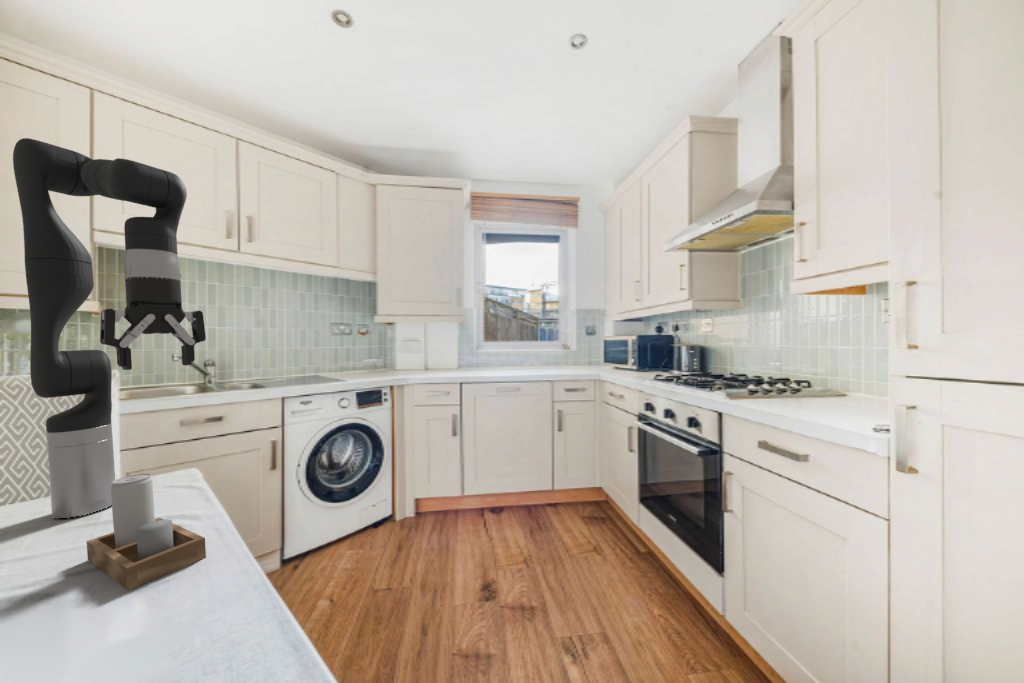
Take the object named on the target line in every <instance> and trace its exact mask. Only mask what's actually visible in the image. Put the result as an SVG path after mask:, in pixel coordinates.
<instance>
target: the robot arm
mask: <svg viewBox="0 0 1024 683" xmlns="http://www.w3.org/2000/svg"><path fill="white" fill-rule="evenodd" d="M12 165H13V172H14V174H13V175H14V178H15V179H14V180H15V183H16V184H15V185H16V189H17V195H18V199H19V204H20V212H21V218H22V228H23V246H24V247H23V248H24V250H23V251H24V270H25V279H26V280H25V281H26V289H27V296H28V302H29V303H28V304H29V314H30V358H29V359H30V361H29V363H30V367H29V369H30V381H31V382H30V384H31V387H32V389H33V392H34V393H35V394H36V395H37V396H38V397H40V398H44V399H48V398H59V397H60V398H61V397H69V396H78V395H84V396H83V399H82V400H81V401H80V402H79V403H78V404H76V405H75V406H72V407H70V408H68V409H65V410H64V411H61V412H58V413H56V414H53V415H51V416H50V417H48V418H47V419H46V422H45V430H46V444H47V456H48V471H49V472H48V473H49V486H50V504H51V515H52V516H51V518H52V517H54V518H67V519H71V518H70V517H74V518H77V517H76V516H79V517H82V515H83V516H87V514H88V515H91V514H94V513H93V512H95V513H97V512H96V511H98V512H100V511H99V510H101V509H104V508H106V507H109V506H111V505H112V498H111V486H112V485H113V484H112V482H113V481H114V480H116V469H115V457H114V456H115V454H114V441H113V440H114V439H113V438H114V437H113V425H112V424H113V423H112V410H113V405H112V401H113V400H112V378H113V377H112V376H113V375H112V364H111V360H110V358H109V355H108V354H107V352H105V351H103V350H101V349H82V350H81V349H78V350H77V349H75V350H59V342H60V338H61V335H62V332H63V330H64V328H65V326H66V325H67V323H68V321H69V320H70V319H71V318H72V317H73V315H74V314H76V312H77V310H79V309H80V307H82V305H83V304H84V303H85V301H86V300H87V299H88V298H89V297H90V295H91V293H92V292H93V289H94V270H93V260H92V256H91V255H90V252H89V251H88V250H87V248H86V247H85V245H84V244H83V243H82V242H81V240H80V239H79V238H78V237H77V236H76V235H75V234H74V232H73V231H72V230H71V229H70V228H69V227H68V226H67V224H66V223H65V222H64V220H62V218H61V217H60V215H59V214H58V212H57V210H56V209H55V207H54V204H53V201H52V199H51V196H50V193H49V192H54V193H58V194H63V195H66V196H72V197H91V196H92V197H93V196H101V197H104V198H109V199H113V200H117V201H123V202H129V203H133V204H138V205H141V206H146V207H150V208H155V213H154V215H153V216H133V217H129V218H127V219H126V220H125V222H124V227H123V228H124V229H123V230H124V245H125V247H124V248H125V255H124V261H123V262H124V263H123V265H124V266H123V268H124V281H125V303H126V304H125V305H126V306H125V309H124V310H119V309H113V308H105V309H102V310H101V312H100V329H99V330H100V332H99V333H100V334H99V335H100V336H99V342H100V344H101V345H107V346H109V347H114V348H115V350H116V363H117V364H116V365H117V366H118V367H120V368H122V370H123V371H129V370H130V371H131V370H132V368H133V366H132V361H133V360H132V348H131V347H129V346H130V345H131V344H132V343H133V342H134V340H136V339H137V338H138V337H139V336H140V335H141V334H142V335H154V334H159V335H164V334H165V335H167V334H168V335H169V334H171V335H172V336H173V337H175V338H176V339H177V340H178V341H179V342H180V344H182V345H181V346H180V348H181V364H182V366H191V365H192V363H194V362H195V359H196V358H195V345H197V344H199V343H200V342H201V343H202V342H205V341H206V339H207V337H206V336H207V335H206V330H205V328H206V327H205V321H204V320H205V319H204V314H203V312H202V310H193V311H184V309H183V306H182V304H183V302H182V301H183V300H182V286H181V285H182V284H181V283H182V281H181V279H182V274H181V266H180V261H179V257H178V241H177V240H178V239H177V234H178V228H179V224H180V221H181V220H180V219H181V216H182V212H183V210H184V207H185V204H186V200H187V198H188V197H187V195H188V194H187V187H186V185H185V183H184V181H183V180H182V178H180V176H178V174H175V173H173V172H171V171H167V170H164V169H162V168H158V167H155V166H151V165H148V164H146V163H142V162H138V161H134V160H131V159H126V158H115V159H114V160H112V159H107V158H106V159H105V158H104V159H103V158H97V159H96V158H95V159H92V158H91V157H90V156H89V157H88V156H87V155H84V154H83V153H80V152H78V151H75V150H73V149H68V148H65V147H62V146H58V145H55V144H51V143H48V142H44V141H41V140H37V139H33V138H27V137H24V138H20V139H19V140H17V142H16V143H15V144H14V147H13V153H12ZM122 317H123V318H124V319H125V320H126V321H127V322H128V323H129V324H130V326H129V327H128V328H127V329H126V330H125V331H124V332H123V334H122V335H121V336H120V337H119V338H116V323H118V322H120V320H121V318H122ZM184 319H186V320H187V322H189V323H190V324H191V325H190V326H191V333H192V336H191V335H190V334H189V333H188V331H187V329H185V328H184V327H183V326H182V324H181V322H182V321H183V320H184ZM111 507H112V506H111ZM109 508H110V507H109ZM106 509H107V508H106ZM104 510H105V509H104ZM101 511H102V510H101ZM90 513H91V514H90Z"/></svg>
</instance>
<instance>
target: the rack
mask: <svg viewBox="0 0 1024 683" xmlns="http://www.w3.org/2000/svg"><path fill="white" fill-rule="evenodd" d="M159 520H165V519H164V518H162V517H156V518H155V521H159ZM172 529H173V545H174V547H173V548H171V549H168V550H166V551H163V552H160V553H158V554H155V555H153V556H150V557H147V558H145V559H142V560H140V561H138V549H137V541H136V542H134V543H131V544H128V545H125V546H122V547H120V548H117V549H115V536H114V531H112V532H111V533H107V534H104V535H101V536H98V537H96V538H91V539H89V540H87V541H86V554H87V555H86V556H87V561H88V562H90V563H91V564H92V565H93V566H95V567H96V568H98V569H99V570H100V571H101V572H102V573H104V574H106V575H107V576H109V577H110V578H111V579H113V580H114V581H115V582H116V583H118V584H119V585H120V586H122V587H123V588H124V589H126V590H127V591H130V590H133V589H135V588H138V587H140V586H142V585H145V584H147V583H149V582H151V581H153V580H156V579H158V578H160V577H164V576H166V575H167V574H170V573H172V572H175V571H177V570H179V569H182V568H184V567H187V566H188V565H190V564H193V563H196V562H199V561H200V560H203V559H205V558H207V552H206V550H207V548H206V538H205V537H204V536H201V535H199V534H198V533H195V532H193V531H190V530H188V529H186V528H184V527H181V526H180V525H177V524H175V523H173V522H172Z"/></svg>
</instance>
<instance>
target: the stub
mask: <svg viewBox="0 0 1024 683" xmlns="http://www.w3.org/2000/svg"><path fill="white" fill-rule="evenodd" d="M172 523H173V521H172V519H169V518H168V519H164V520H159V521H154V522H151V523H148V524H145V525H143V526H141V527H139V528H138V529H137V530H136V533H137V549H138V561H140V560H142V559H145V558H147V557H150V556H153V555H155V554H158V553H160V552H163V551H166V550H168V549H171V548H173V547H174V545H173V529H172Z"/></svg>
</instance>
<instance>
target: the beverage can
mask: <svg viewBox="0 0 1024 683" xmlns="http://www.w3.org/2000/svg"><path fill="white" fill-rule="evenodd" d="M151 476H152V475H151V474H150V473H137V474H132V475H128V476H122V477H120V478H117V479H115V480H114V481H113V482H112V484H113V485H112V486H111V498H112V506H111V508H112V509H111V510H112V525H113V532H114V536H115V549H117V548H120V547H122V546H125V545H128V544H131V543H134V542H136V541H137V533H136V530H137V529H138V528H139V527H141V526H143V525H145V524H148V523H151V522H154V521H155V519H156V518H155V503H154V502H155V501H154V500H155V499H154V489H153V488H154V486H153V485H154V484H153V478H152V477H151Z"/></svg>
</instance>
